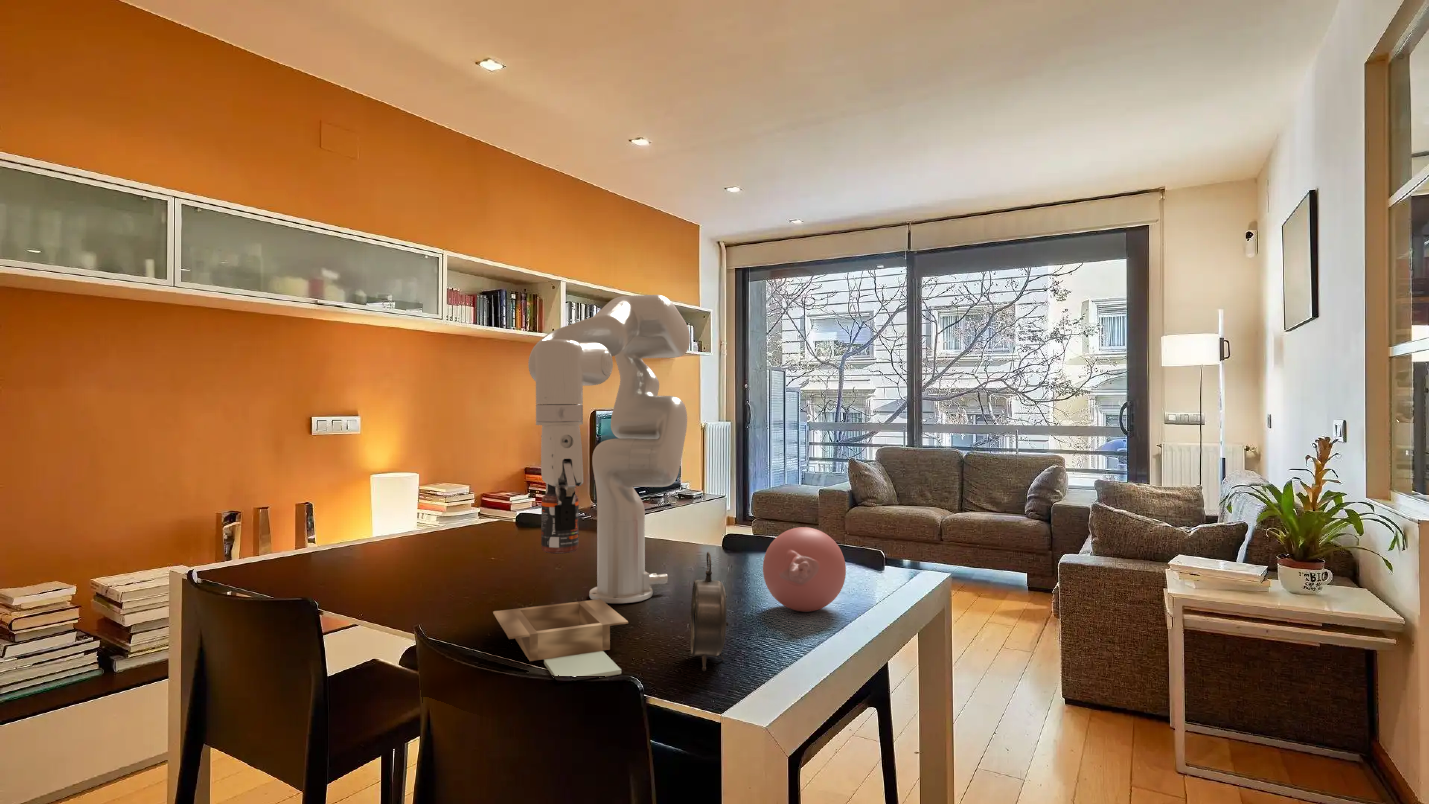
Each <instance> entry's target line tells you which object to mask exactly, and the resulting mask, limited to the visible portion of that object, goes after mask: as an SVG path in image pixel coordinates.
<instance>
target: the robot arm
mask: <svg viewBox="0 0 1429 804" xmlns="http://www.w3.org/2000/svg"><path fill="white" fill-rule="evenodd" d="M690 343H691V335H690V330H689V327H688V324H687V323H686V321H685V319H684V318H683V316H682V314H681V313H680V312H679V310H678V308H677V307H676V305H675V304H674V303H673V301H671V300H670V299H669V298H668V297H666V296H664V295H662V294H643V295H641V294H639V295H634V294H633V295H622V296H618V297H615V298H612V299H611V300H610V301H608V302H607V303H606V304H605V305H604V306H603V307H602V308H600V310H599V311H598V312H597V313H596V314H594V315H593V316H592V317H589V318H585V319H582V320H578V321H577V322H573V323H571V324H568V325H565V326H563V327H559V328H557V329H555V330H553V331H551V332H549V333H547V334H545V335H544V336H543V337H542V338H541V339H539V341H537V343H536V344H535V345H534V346H533V348H532V349H531V352H530V354H529V357H528V366H527V368H528V371H529V375H530V377H531V378H532V379H533V381H534V382H535V426H541V436H540V437H541V440H540V441H541V443H540V446H541V447H540V471H541V472H540V474H541V480H542V481H543V482H544V483H545V494H544V495H546V494H547V492H548V484H549V485H551V486H553V487H555V491H556V501H557V505H555V530H557V531H563V530H574V529H575V495H576V490H575V489H576V487H581V486H582V485H583V484H584V466H583V461H584V460H583V446H582V434H581V429H580V427H581V426H582V425H584V409H583V408H584V403H583V402H584V401H583V400H584V397H583V396H584V392H583V390H584V388H583V386H584V387H585V386H598V385H601V384H603V383H605V382H606V381H607V380H608V379H609V378H610V377H611V374H612V372H613V367H614V362H613V361H614V360H615V362H616V366H617V369H618V374H619V379H620V380H619V386H618V390H617V394H616V398H615V401H614V405H613V409H612V413H611V419H610V430H611V432H612V434H613V435H614V436H615V437H616V438H611V439H610V438H609V439H606V440H605V439H604V440H603V441H601V442H600V443H598V444H597V445H596V447H595V448H594V450H593V453H592V460H591V461H592V462H591V463H592V465H591V466H592V471H593V475H594V482H595V489H596V513H597V514H596V521H597V522H596V527H597V529H596V534H597V535H596V537H597V538H596V540H597V544H596V547H597V550H596V551H597V552H596V553H597V554H596V555H597V556H596V557H597V558H596V559H597V560H596V561H597V562H596V565H597V566H596V567H597V569H596V570H597V571H596V575H597V576H596V578H597V579H596V580H597V581H596V583H597V586H594V587H593V588H591V589H590V590H589V591H588V592H589V593H588V594H589V598H590V600H597V599H601V600H602V601H604V602H605V603H606V604H630V603H638V602H642V601H645V600H649V599H650V598H651V597H652V596H653V592H654V591H653V588H652V587H653V586H654V585H662V584H668V582H669V577H668V574H667V573H660V574H657V573H656V572H655V573H649V572H647V570H645V569H646V568H645V567H646V564H645V563H646V560H645V559H646V551H645V550H646V543H645V542H646V537H645V536H646V533H645V532H646V528H645V526H646V523H645V521H646V511H645V505H644V502H643V501H642V498H641V497H640V495H639V494H638V493H637V491H636V489H635V488H634V487H646V488H647V487H649V488H653V487H654V488H663V487H669V486H672V485H673V484H674V483H675V482H676V480H677V479H678V475H679V472H680V467H681V461H682V458H683V457H682V456H683V451H684V446H685V440H686V435H687V428H688V413H687V408H686V405H685V402H683V401H682V400H681V398H679V397H677V396H673V395H659V390H660V381H659V379H658V377H657V375H656V373H654V371H653V370H652V369H651V368H650V367H649V366H648V364H646V363H645V362H644V360H643V359H667V358H669V359H673V358H675V359H676V358H680V357H682V356H684V355H686V353H687V352H688V350H689V347H690ZM613 357H614V360H613ZM561 482H565V485H559V483H561ZM560 490H563V491H562V493H561V491H560Z"/></svg>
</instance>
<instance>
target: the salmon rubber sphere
mask: <svg viewBox="0 0 1429 804" xmlns="http://www.w3.org/2000/svg"><path fill="white" fill-rule="evenodd" d="M846 566H847V565H846V561H845V557H844V555H843V552H842V549H841V548H840V546H839V544H838V543H836V541H835V540H834V539H833V538H832V537H831V536H830V535H828V534H827V533H825V532H824V531H822V530H819V529H817V528H812V527H807V526H805V527H803V526H802V527H801V526H799V527H793V528H790V529H787V530H785V531H783V532H781V533H780V534H779V535H778V536H776V537H775V538H774V539H773V540H772V541H771V542H770V544H769V546H768V547H767V549H766V551H765V554H764V558H763V562H762V574H763V575H762V576H763V580H764V582H765V585H766V588H767V589H768V591H769V592H770V594H771V596H772V597H773V598H774V599H775V600H776V601H777V602H778V603H779V604H781V605H783V606H784V607H786V608H788V609H790V610H792V611H796V612H802V613H803V612H804V613H806V612H807V613H809V612H815V611H817V610H821V609H822V608H826V607H827V606H829V605H831V603H832V602H833V601H834V600H836V598H837V597H838V596H839V595H840V593H841V591H842V590H843V587H844V584H845V580H846V575H847V574H846V573H847V567H846Z"/></svg>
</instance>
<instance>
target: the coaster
mask: <svg viewBox="0 0 1429 804" xmlns="http://www.w3.org/2000/svg"><path fill="white" fill-rule="evenodd" d="M543 664H544V666H545V667H546V669H547V670H548V671H549V673H550V674H551V676H552V675H554V676H558V675H559V676H605V677H611V676H617V675H622V668H621V667H620V666H618V665H617V664H616V662H615V661H614V660H613V659H611V657H609V655H607V653H606V652H605V650H603V651H597V652H590V653H583V654H576V655H569V656H562V657H556V658H549V659H543Z"/></svg>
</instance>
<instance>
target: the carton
mask: <svg viewBox="0 0 1429 804" xmlns="http://www.w3.org/2000/svg"><path fill="white" fill-rule="evenodd" d="M492 613H493V615H494V617H495V618H496V620H497V622H498V624H499V625H500V627H501V628H502V630H503V632H504V633H505V635H506V637H507V638H508V640H514V639H515V641H516V642H517V644H518V645H519V647H520V649H521V650H522V652H523V653H524V655H525V657H527V659H528V660H529V662H534V661H541V660H544V659H551V658H557V657H564V656H571V655H578V654H585V653H592V652H598V651H610V650H611V641H610V640H611V627H612V626H618V625H626V624H629V621H628V620H627V619H626V618H625V617H624V616H622V615H621V614H620V613H618V612H617V611H616V610H615V609H613V608H612V607H611V606H610V605H608V603H605V602H604V601H602V600H601V599H597V600H592V599H589V600H582V601H581V600H579V601H574V602H571V601H570V602H563V603H554V604H547V605H546V604H545V605H538V606H536V605H535V606H529V607H520V608H513V609H503V610H501V609H500V610H494V611H492Z"/></svg>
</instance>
